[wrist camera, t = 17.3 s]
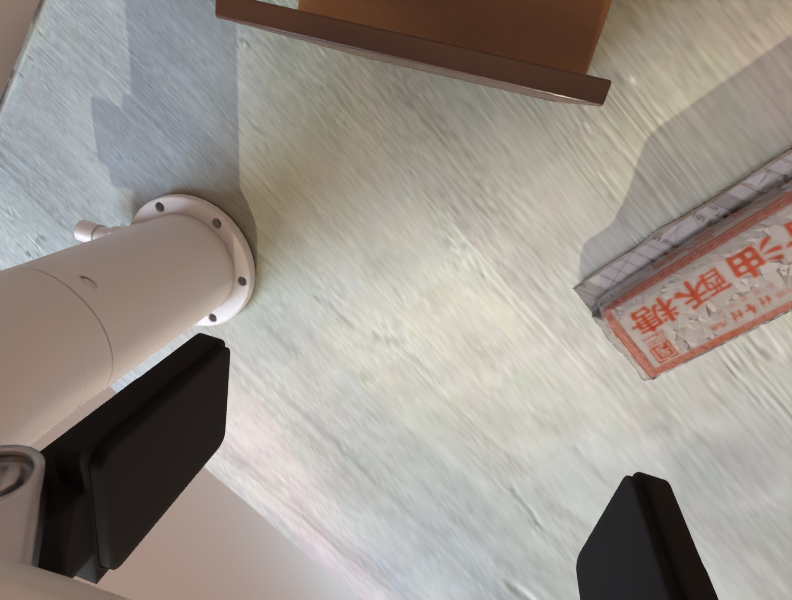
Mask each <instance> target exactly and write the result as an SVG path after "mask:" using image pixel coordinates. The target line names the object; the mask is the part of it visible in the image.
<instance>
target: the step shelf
mask: <svg viewBox="0 0 792 600" xmlns="http://www.w3.org/2000/svg"><path fill="white" fill-rule="evenodd" d="M611 3H612V0H299V5H298V10H296V9H292V8H288V7H283V6H279V5H274V4H270V3H265V2H261V1H257V0H216V17H218V18H221V19H225V20H228V21H232V22H236V23H239V24H243V25H247V26H250V27H254V28H258V29H262V30H265V31H269V32H273V33H276V34H280V35H284V36H287V37H291V38H295V39H298V40H302V41H306V42H309V43H313V44H317V45H320V46H324V47H328V48H331V49H335V50H339V51H342V52H346V53H350V54H353V55H357V56H361V57H365V58H369V59H373V60H377V61H382V62H386V63H390V64H395V65H399V66H403V67H407V68H412V69H416V70H420V71H425V72H429V73H433V74H437V75H442V76H446V77H450V78H455V79H459V80H463V81H467V82H472V83H476V84H480V85H485V86H489V87H493V88H497V89H502V90H506V91H510V92H515V93H519V94H523V95H527V96H532V97H536V98H540V99H544V100H549V101H553V102H562V103H572V104H582V105H592V106H602V105H603V104H604V102H605V99H606V96H607V94H608V91H609V88H610V86H611V81H610V80H607V79H603V78H598V77H594V76H590V75H586V74H587V71H588V68H589V65H590V62H591V60H592V57H593V54H594V51H595V48H596V45H597V43H598V40H599V37H600V34H601V31H602V28H603V26H604V23H605V20H606V17H607V14H608V11H609V9H610V6H611Z"/></svg>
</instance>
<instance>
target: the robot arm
mask: <svg viewBox="0 0 792 600" xmlns="http://www.w3.org/2000/svg"><path fill="white" fill-rule="evenodd" d="M74 235H75V237H76V239H78V240H79V241H82V242H85V243H82V244H79V245H76V246H73V247H70V248H67V249H64V250H61V251H58V252H55V253H53V254H50V255H47V256H44V257H41V258H38V259H35V260H32V261H29V262H26V263H23V264H20V265H17V266H14V267H12V268H8V269H5V270H2V271H0V600H129V599H127V598H124V597H121V596H119V595H116V594H113V593H110V592H108V591H105V590H102V589H100V588H96V587H94V586H91V585H89V584H86V583H83V582H80V581H78V580H74V579H72V578H73V577H74V576H77V577H80V578H82V579H85V580H87V581H90V582H93V583H95V584H97V583H98V582H99V580H100V579H101V578H102V577H103V576H104V574H105V573H106V572H107V571H108V570H109V569H112V570H115V569H117V568H118V567H119V566H121V565H122V564H123V562H124V561H125V560H126V559H127V558H128V556H129V555H130V554H131V553H132V552H133V550H134V549H135V548H136V547H137V546H138V544H139V543H140V542H141V541H142V540H143V538H144V537H145V536H146V535H147V534H148V532H149V531H150V530H151V529H152V528H153V526H154V525H155V524H156V523H157V522H158V520H159V519H160V518H161V517H162V516H163V514H164V513H165V512H166V511H167V510H168V508H169V507H170V506H171V505H172V504H173V502H174V501H175V500H176V499H177V498H178V496H179V495H180V494H181V493H182V491H183V490H184V489H185V488H186V487H187V486H188V484H189V483H190V482H191V481H192V479H193V478H194V477H195V476H196V474H197V473H198V472H199V471H200V470H201V469H202V467H203V466H204V465H205V464H206V463H207V461H208V460H209V459H210V458H211V457H212V455H213V454H214V453H215V452H216V451H217V449H218V448H219V447H220V445H221V443H222V441H223V439H224V436H225V428H226V412H227V396H228V380H229V365H230V350H229V348H227V347H225V343H224V341H223V340H222V339H219V338H215V337H212V336H209V335H206V334H203V333H198V334H197V335H195V336H194V337H192V338H191V339H190V340H188V341H187V342H186V343H184V344H183V345H182V346H180V347H179V348H178V349H176V350H175V351H174V352H172V353H171V354H170V355H169V356H167V357H166V358H165V359H163V360H162V361H161V362H159V363H158V364H157V365H155V366H154V367H153V368H151V369H150V370H149V371H147V372H146V373H145V374H143V375H142V376H141V377H139V378H137V379H136V380H134V381H133V382H132V383H130V384H129V385H128V386H126V387H125V388H124V389H122V390H121V391H120V392H118V393H117V394H116V395H114V396H113V397H112V398H111V399H109V400H108V401H107V402H105V403H104V404H103V405H101V406H100V407H99V408H97V409H96V410H95V411H93V412H92V413H91V414H89V415H88V416H87V417H85V418H84V419H83V420H81V421H80V422H79V423H77V424H76V425H75V426H73V427H72V428H71V429H69V430H68V431H67V432H66V433H64V434H63V435H61V436H60V437H59V438H57V439H56V440H55V441H53V442H52V443H51V444H49V445H48V446H47V447H46V448H44V449H43V450H41V451H40V452H39V451H38V450H36V449H34V448H32V447H30V445H32V444H33V443H34V442H35V441H36V440H38V439H39V438H40V437H41V436H43V435H44V434H45V433H46V432H48V431H49V430H50V429H51V428H52V427H54V426H55V425H56V424H58V423H59V422H60V421H62V420H63V419H65V418H66V417H67V416H68V415H70V414H71V413H72V412H74V411H75V410H77V409H78V408H79V407H81V406H82V405H83V404H85V403H86V402H88V401H89V400H90V399H92V398H93V397H94V396H96V395H97V394H99V393H100V392H101V391H103V390H104V389H106V388H107V387H108V386H110V385H111V384H113V383H114V382H115V381H117V380H118V379H120V378H121V377H122V376H124V375H125V374H127V373H128V372H129V371H131V370H132V369H133V368H135V367H136V366H138V365H139V364H140V363H142V362H143V361H145V360H146V359H147V358H149V357H150V356H152V355H153V354H154V353H156V352H157V351H158V350H160V349H161V348H163V347H164V346H165V345H167V344H168V343H170V342H171V341H172V340H174V339H175V338H177V337H178V336H179V335H181V334H182V333H183V332H185V331H186V330H188V329H189V328H190V327H192V326H193V325H198V326H212V325H218V324H221V323H223V322H226V321H228V320H230V319H231V318H233V317H234V316H235V315H237V314H238V313H239V312H240V311H241V310H242V309H243V308H244V307H245V306H246V304H247V303H248V301H249V300H250V298H251V295H252V292H253V289H254V283H255V265H254V260H253V256H252V252H251V250H250V248H249V245H248V243H247V241H246V239H245V237H244V235H243V234H242V232H241V231H240V229H239V228H238V226H237V225H236V224H235V223H234V222H233V221H232V220H231V218H230V217H229V216H228V215H226V214H225V213H224V212H223V211H222V210H220V209H219V208H218V207H216V206H215V205H213V204H211V203H210V202H208V201H206V200H203V199H201V198H198V197H195V196H191V195H185V194H170V195H167V196H163V197H159V198H156V199H154V200H152V201H149V202H148V203H146V204H145V205H144V206H143V207H141V208H140V209H139V211H138V212H137V213H136V215H135V216H134V218H133V220H132V222H131V224H130V225H129V226H127V227H124V228H122V227H119V226H114V227H112V228H107V227H105V226H103V225H100V224H96V223H93V222H89V221H86V220H82V221H79V222H78V223H77V224H76V226H75V228H74ZM576 572H577V580H578V587H579V594H580V600H718V597H717V595H716V593H715V590H714V588H713V585H712V583H711V580H710V578H709V576H708V573H707V571H706V569H705V567H704V565H703V564H702V561H701V559H700V556H699V554H698V552H697V549H696V547H695V544H694V542H693V539H692V537H691V535H690V532H689V530H688V527H687V525H686V522H685V520H684V518H683V515H682V513H681V510H680V508H679V505H678V503H677V501H676V498H675V496H674V493H673V491H672V488H671V486H670V484H669V483H668V482H667V481H666V480H664V479H660V478H657V477H654V476H651V475H648V474H645V473H641V472H636V473H635V474H634V475H633V476H625V477H624V478H623V480H622V481H621V483H620V485H619V487H618V488H617V490H616V492H615V493H614V495H613V497H612V499H611V500H610V502H609V504H608V505H607V507H606V509H605V511H604V512H603V514H602V516H601V517H600V519H599V521H598V523H597V524H596V526H595V528H594V529H593V531H592V533H591V534H590V536H589V538H588V540H587V541H586V543H585V545H584V546H583V548H582V550H581V552H580V553H579V556H578V559H577V565H576Z"/></svg>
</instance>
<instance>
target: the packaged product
mask: <svg viewBox="0 0 792 600" xmlns="http://www.w3.org/2000/svg"><path fill="white" fill-rule="evenodd" d="M573 289H574V290H575V292H576V293H577V294H578V296H579V297H580V298H581V300H582V301H583V302H584V303H585V305H586V306H587V307H588V309H589V310H590V311H591V313H592V317H593V319H594V320H595V322H596V323H597V324H598V325H599V326H600V327H601V329H602V331H603V333H604V335H605V337H606V338H607V339H608V340H609V341H610V342H611V343H612V345H613V346H614V347H615V348H616V349H617V350H618V351H620V352H621V353H623V354H624V356H625V357H626V358H627V359H628V361H629V362H630V364H631V365H632V366H633V367H634V368H635V369H636V370H637V372H638V374H639V376H640V377H641V379H643V380H644V381H645V380H650V379H652V380H654V379H655V378H657V377H658V376H659V375H661V374H662V373H666V372H669V371H671V370H672V369H674V368H676V367H678V366H680V365H682V364H685V363H687V362H688V361H690V360H692V359H694V358H696V357H698V356H701V355H703V354H705V353H707V352H709V351H711V350H712V349H714V348H716V347H719V346H722V345H723V344H725V343H726V342H729V341H731V340H733V339H735V338H737V337H739V336H741V335H743V334H746V333H748V332H750V331H752V330H754V329H756V328H757V327H759V326H760V325H763V324H765V323H768V322H770V321H772V320H774V319H776V318H778V317H780V316H782V315H784V314H786V313H788V312H790V311H792V149H790V150H788V151H787V152H785V153H784V154H782V155H781V156H779V157H777V158H776V159H774V160H773V161H771V162H770V163H768V164H766V165H765V166H763V167H762V168H760V169H759V170H757V171H756V172H755V173H753V174H752V175H750V176H749V177H747V178H746V179H745V180H743V181H742V182H740V183H738V184H737V185H735V186H733V187H732V188H730V189H728V190H727V191H725V192H723V193H722V194H720V195H718V196H717V197H715V198H713V199H712V200H710V201H708V202H707V203H705V204H703V205H702V206H700V207H698V208H697V209H695V210H693V211H692V212H690V213H688V214H687V215H685V216H683V217H681V218H679V219H677V220H675V221H673V222H672V223H670V224H668V225H666V226H664V227H662V228H660V229H658V230H656V231H655V232H654V233H653V234H652V235H650V236H649V237H648V238H647V239H646V240H644V241H643V242H642V243H641V244H640V245H638V246H637V247H636V248H635V249H633V250H632V251H630V252H628V253H626V254H625V255H623V256H621V257H620V258H618V259H616V260H614V261H613V262H611V263H610V264H608V265H607V266H605V267H604V268H602V269H601V270H599V271H598V272H596V273H595V274H593V275H592V276H590V277H589V278H587V279H586V280H584V281H583V282H581V283H580V284H578V285H577V286H575V287H574V288H573Z"/></svg>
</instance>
